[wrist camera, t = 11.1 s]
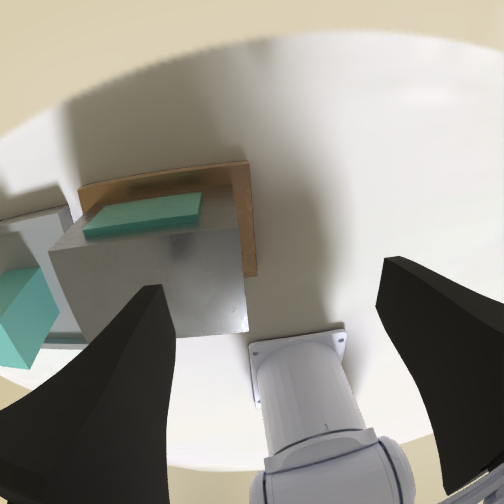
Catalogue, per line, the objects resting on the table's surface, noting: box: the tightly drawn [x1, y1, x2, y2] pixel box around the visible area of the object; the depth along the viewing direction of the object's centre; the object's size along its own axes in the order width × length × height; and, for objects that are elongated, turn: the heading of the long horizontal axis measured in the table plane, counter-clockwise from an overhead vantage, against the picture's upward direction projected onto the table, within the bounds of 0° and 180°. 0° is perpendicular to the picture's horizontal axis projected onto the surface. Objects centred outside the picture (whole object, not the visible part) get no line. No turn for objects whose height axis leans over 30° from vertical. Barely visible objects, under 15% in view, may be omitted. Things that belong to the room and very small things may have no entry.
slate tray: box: [0, 205, 91, 350], centre depth 18 cm, size 11×11×2 cm
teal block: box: [0, 267, 60, 370], centre depth 15 cm, size 4×4×6 cm
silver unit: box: [47, 161, 257, 342], centre depth 15 cm, size 7×10×7 cm
